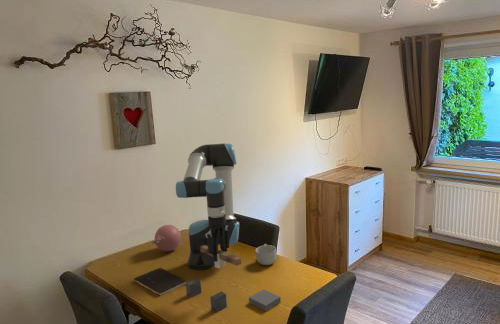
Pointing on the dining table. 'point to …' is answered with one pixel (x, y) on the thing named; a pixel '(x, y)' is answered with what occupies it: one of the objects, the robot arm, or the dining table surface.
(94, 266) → the dining table surface
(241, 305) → the dining table surface
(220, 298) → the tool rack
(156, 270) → the hardcover book
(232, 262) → the walnut stick
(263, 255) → the teacup
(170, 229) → the balloon
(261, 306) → the tile
